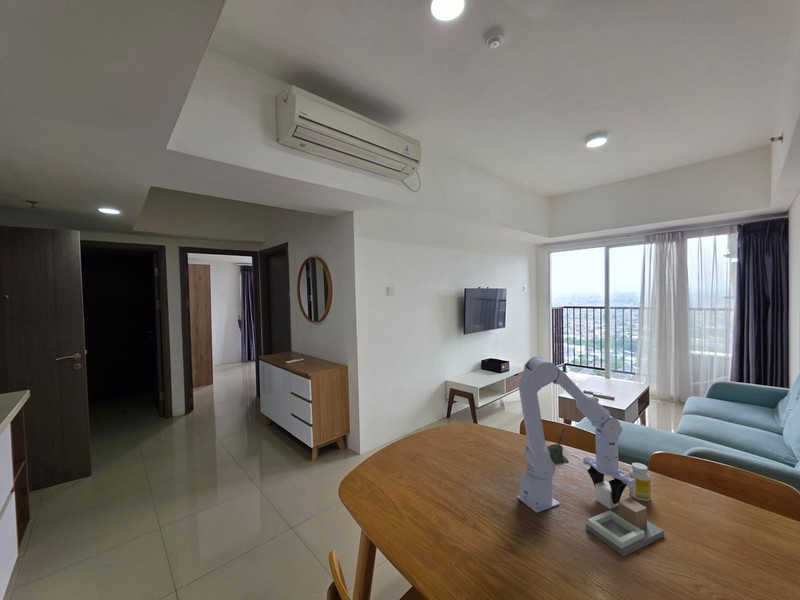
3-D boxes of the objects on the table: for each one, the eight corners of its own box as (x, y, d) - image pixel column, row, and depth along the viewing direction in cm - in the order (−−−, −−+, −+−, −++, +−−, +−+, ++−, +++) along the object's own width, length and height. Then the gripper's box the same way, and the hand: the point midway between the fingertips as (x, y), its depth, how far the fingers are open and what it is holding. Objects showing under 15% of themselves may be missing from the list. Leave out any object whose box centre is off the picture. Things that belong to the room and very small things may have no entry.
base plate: (623, 556, 77) (623, 529, 77) (585, 528, 86) (585, 505, 86) (664, 536, 83) (663, 511, 83) (624, 512, 92) (624, 490, 92)
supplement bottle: (625, 493, 101) (624, 463, 101) (636, 489, 103) (636, 459, 103) (643, 503, 96) (642, 471, 96) (655, 499, 98) (654, 468, 98)
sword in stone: (542, 462, 121) (541, 430, 121) (538, 453, 128) (537, 423, 129) (571, 465, 118) (570, 432, 119) (565, 455, 126) (564, 425, 126)
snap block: (610, 509, 94) (609, 492, 94) (595, 500, 98) (595, 484, 98) (620, 504, 95) (619, 488, 95) (605, 496, 100) (605, 480, 99)
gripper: (640, 461, 91) (641, 508, 91) (593, 441, 105) (594, 481, 105) (624, 467, 89) (625, 515, 89) (578, 445, 102) (579, 487, 102)
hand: (607, 497), depth 97 cm, fingers closed on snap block, 4 cm apart
